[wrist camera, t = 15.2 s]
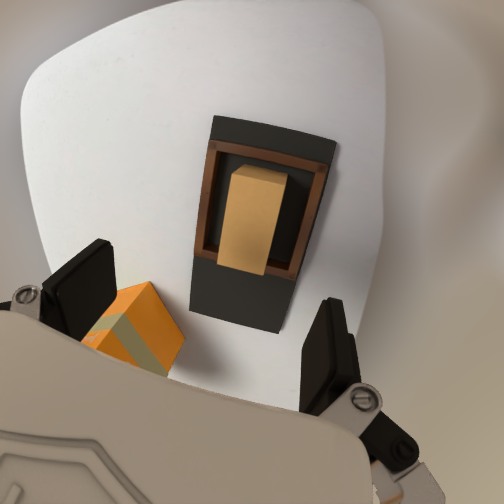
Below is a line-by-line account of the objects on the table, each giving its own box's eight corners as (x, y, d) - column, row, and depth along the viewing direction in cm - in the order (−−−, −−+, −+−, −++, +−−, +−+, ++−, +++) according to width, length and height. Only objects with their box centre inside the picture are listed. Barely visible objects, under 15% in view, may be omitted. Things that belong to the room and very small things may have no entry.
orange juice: (142, 344, 36) (73, 461, 18) (107, 293, 32) (12, 407, 15) (186, 338, 33) (120, 480, 15) (150, 280, 30) (44, 422, 12)
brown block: (230, 240, 25) (216, 264, 21) (244, 163, 22) (231, 173, 18) (269, 250, 25) (263, 275, 21) (287, 173, 22) (285, 185, 18)
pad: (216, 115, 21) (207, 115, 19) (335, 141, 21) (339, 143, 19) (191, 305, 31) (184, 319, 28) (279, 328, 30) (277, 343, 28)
